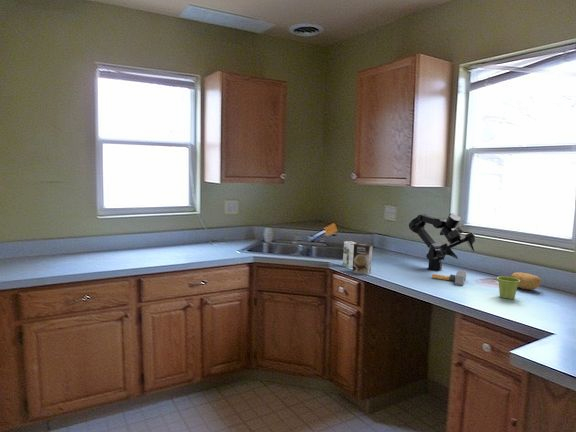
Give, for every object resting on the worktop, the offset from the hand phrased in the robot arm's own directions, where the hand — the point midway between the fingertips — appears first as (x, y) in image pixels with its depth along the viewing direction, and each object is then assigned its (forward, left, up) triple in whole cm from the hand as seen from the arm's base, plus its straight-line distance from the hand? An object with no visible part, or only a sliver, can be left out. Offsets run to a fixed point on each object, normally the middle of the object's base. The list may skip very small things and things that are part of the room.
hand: (465, 254), depth 216 cm
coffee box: (-45, -27, -14) cm, 55 cm away
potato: (+27, +9, -14) cm, 32 cm away
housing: (0, -3, -14) cm, 15 cm away
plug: (-8, -5, -14) cm, 17 cm away
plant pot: (+25, -13, -14) cm, 31 cm away
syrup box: (-59, -19, -14) cm, 64 cm away
